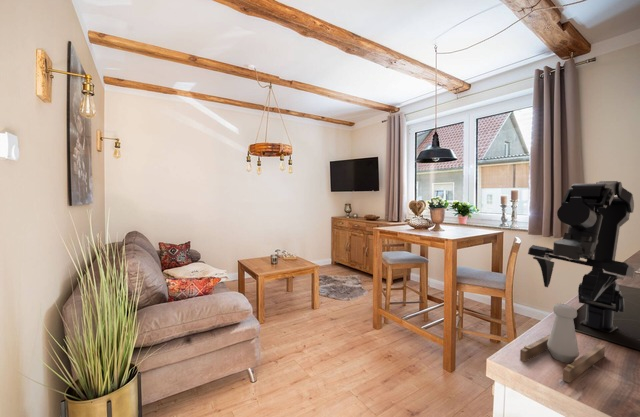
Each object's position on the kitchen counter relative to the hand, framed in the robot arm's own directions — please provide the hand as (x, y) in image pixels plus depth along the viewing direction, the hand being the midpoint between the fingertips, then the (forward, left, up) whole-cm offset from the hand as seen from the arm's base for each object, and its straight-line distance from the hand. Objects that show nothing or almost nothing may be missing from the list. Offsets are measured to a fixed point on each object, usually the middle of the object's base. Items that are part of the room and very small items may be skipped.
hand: (568, 293), depth 69 cm
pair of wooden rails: (+4, +1, -15) cm, 15 cm away
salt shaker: (+4, +1, -15) cm, 16 cm away
